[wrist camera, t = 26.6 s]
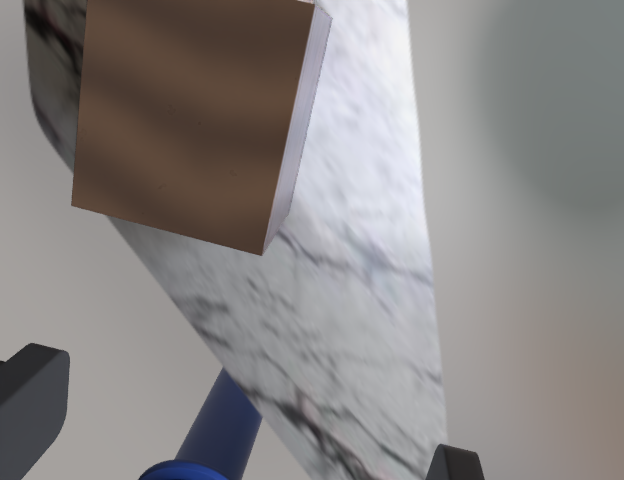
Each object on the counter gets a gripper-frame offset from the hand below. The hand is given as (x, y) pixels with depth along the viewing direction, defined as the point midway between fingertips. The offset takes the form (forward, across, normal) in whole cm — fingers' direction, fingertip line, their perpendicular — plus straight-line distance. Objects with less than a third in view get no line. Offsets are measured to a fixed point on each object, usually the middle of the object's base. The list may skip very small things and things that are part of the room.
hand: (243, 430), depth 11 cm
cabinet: (+28, +8, -3) cm, 30 cm away
